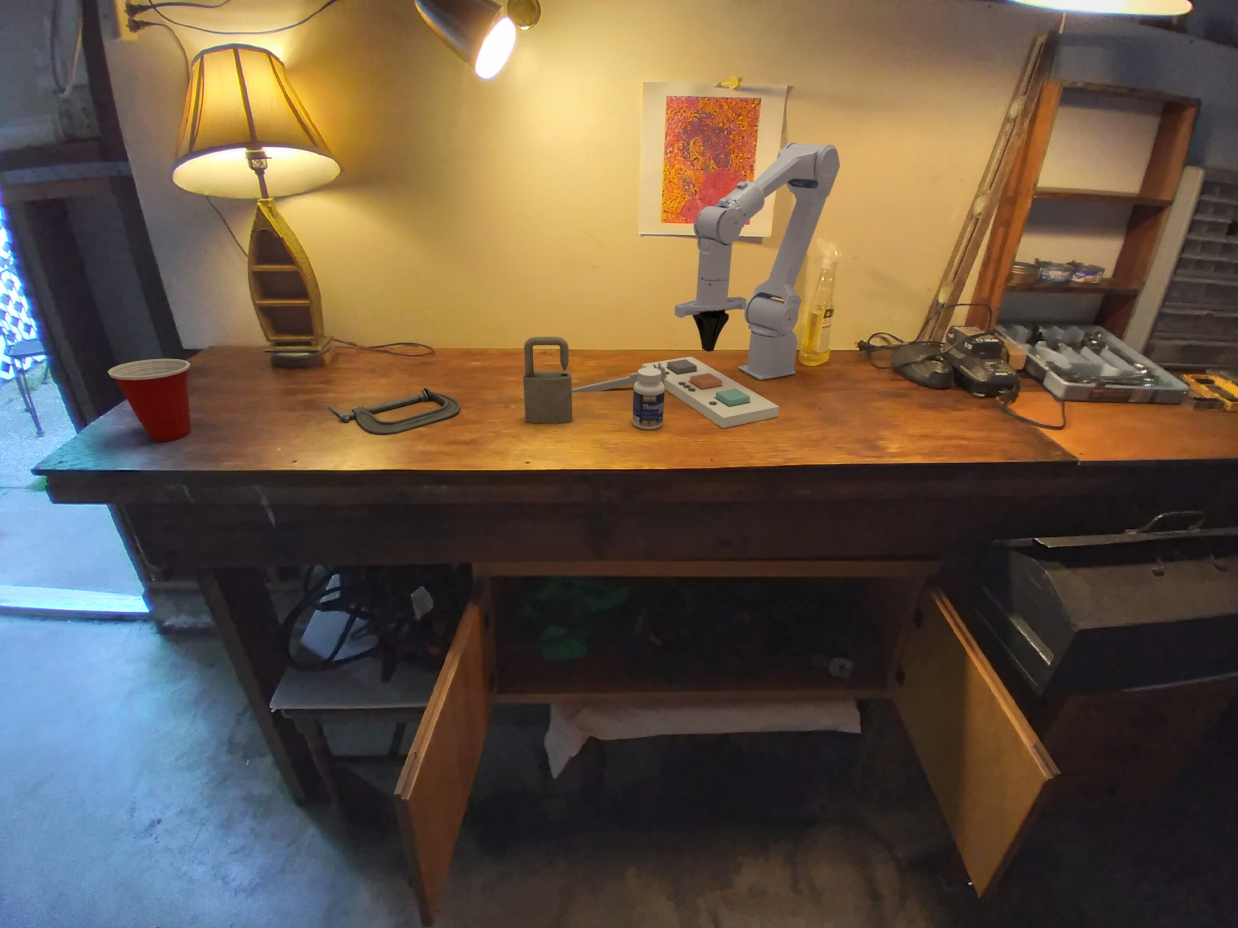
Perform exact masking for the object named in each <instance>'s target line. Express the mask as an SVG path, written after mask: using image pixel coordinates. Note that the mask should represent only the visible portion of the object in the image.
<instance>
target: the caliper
mask: <svg viewBox="0 0 1238 928" xmlns="http://www.w3.org/2000/svg"><path fill="white" fill-rule="evenodd" d="M658 362H659V361H658ZM652 363H653V362H652ZM653 366H654V368H656V369H659V370H660V371H661V382H662V383H663V384H664V378H667V376H666V372H665V368H664V367H661V364H660V362H659V363H658V368H657V367H656V365H655V364H654V363H653ZM637 381H639V380H638V371H637V372H631V373H629V376H623V377H620V378H619V377H618V378H615V379H614V378H613V379H609V380H605V381H600V382H595V383H592V384H587V385H583V386H578V387H574V388H573V387H572V393H579V392H580V393H584V392H585V393H587V392H603V391H607V390H611V389H617V388H621V387H625V386H630V385H631V386H632V388H634V384H635V383H636V382H637Z"/></svg>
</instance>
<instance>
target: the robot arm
mask: <svg viewBox="0 0 1238 928" xmlns="http://www.w3.org/2000/svg"><path fill="white" fill-rule="evenodd" d="M777 153H778V154H777V155H776V156H777V157H776V160H774V161H773V162H772V164H770V165H769V166H768V167H767V168H766V169H765V170H764V171H763V172H762V173H761V174H760V175H759V176H758V177H757V178H756V179H755V180H754V181H749V180H746V181H739V182H738V183H736V185H735V187H736V188H734V189H733V190H732V191H731V192H729V194H727V195H726V196H724V197H721V198H720V199H719V200H718V202H717V203H716V204H715V205H714V206H713V205H708V206H705V207H704V208H703V209H702V210H700V212H698V214H697V216H696V219H695V222H694V223H693V233H694V235H695V237H696V240H697V245H696V247H697V248H698V250H699V253H698V266H697V267H698V269H697V279H696V280H697V283H696V295H695V296H696V297H695V299H693V300H690V301H687V302H683V303H679V304H675V305H674V316H676V317H678V318H680V319H681V318H682V319H683V318H685V317H687V316H692V318H693V320H694V322H695V324H696V328H697V329H698V334H699V337H700V343H701V349H702V350H703V351H706V352H707V353H709V352H713V351H714V350H715V348H716V344H717V342H718V339H719V337H720V334H721V332H722V330H723V328H724V326H725V325H726V324H727V322H728V321H729V320H730V319H729V318H730V314H729V313H727V312H726V311H732V310H734V311H735V310H744V312H743V313H744V320H745V321H746V323H747V324H748V329H749V330H750V337H749V345H748V346H749V347H748V355H747V364H744V365H743V364H742V365H738V367H737V368H738V369H739V370H740V371H741V372H744V373H746V374H748V375H750V376H751V377H753V378H755V379H757V380H759V381H764V380H770V379H774V378H781V377H786V376H792V375H795V374H796V370H795V362H796V357H797V349H798V338H797V335H796V334H795V332H794V331H793V330H794V329H795V326H796V325H797V323H798V320H799V312H800V307H801V304H802V299H801V297H800V295H799V293H798V292H797V291H796V288H795V285H796V282H797V279H798V277H799V274H800V272H801V268H802V267H803V263H804V261H805V258H806V256H807V253H808V250H809V247H810V245H811V242H812V240H813V236H814V234H815V231H816V228H817V225H818V223H819V219H820V218H821V214H822V213H823V209H824V206H825V204H826V201H827V198H828V197H829V196H830V194H831V192H832V188H833V186H834V183H835V180H836V178H837V176H838V172H839V170H840V167H841V164H840V158H839V153H838V150H837V147H836V146H835V145H834V144H824V145H823V144H810V143H796V142H789V143H787V144H786V145H785V146H784V147H783V148H781V149H779V150H778V152H777ZM784 185H786V187H787V189H788V190H789V192H790V193H791V194H793V195H794V197H795V203H794V207H793V210H792V213H791V215H790V218H789V221H788V223H787V227H786V229H785V232H784V234H783V237H782V240H781V243H780V246H779V249H778V252H777V254H776V257H775V260H774V262H773V265H772V268H771V271H770V274H769V277H768V279H767V280H765V281H764V282H762V283H760V284H758V285H757V286H755V288H754V291H753V293H752V295H751V297H750V298H749V300H748V301H747V298H745V297H742V296H734V297H733V296H732V297H731V296H730V297H729V287H730V274H731V263H732V253H733V252H732V251H733V243H734V242H736V241H737V240H738V239H739V237H740V234H741V231H742V229H743V228H744V227H745V225H746V223H748V221H750V220H751V219H752V218H753V217H754V216H756V215H757V214H758V213H759V212H760V211H761V210H762V209H763V208H764V206H765V201H766V200H765V199H766V198H767V197H769V196H770V195H771V194H773V193H774V192H775V191H777V190H779V188H781V187H783V186H784Z"/></svg>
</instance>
